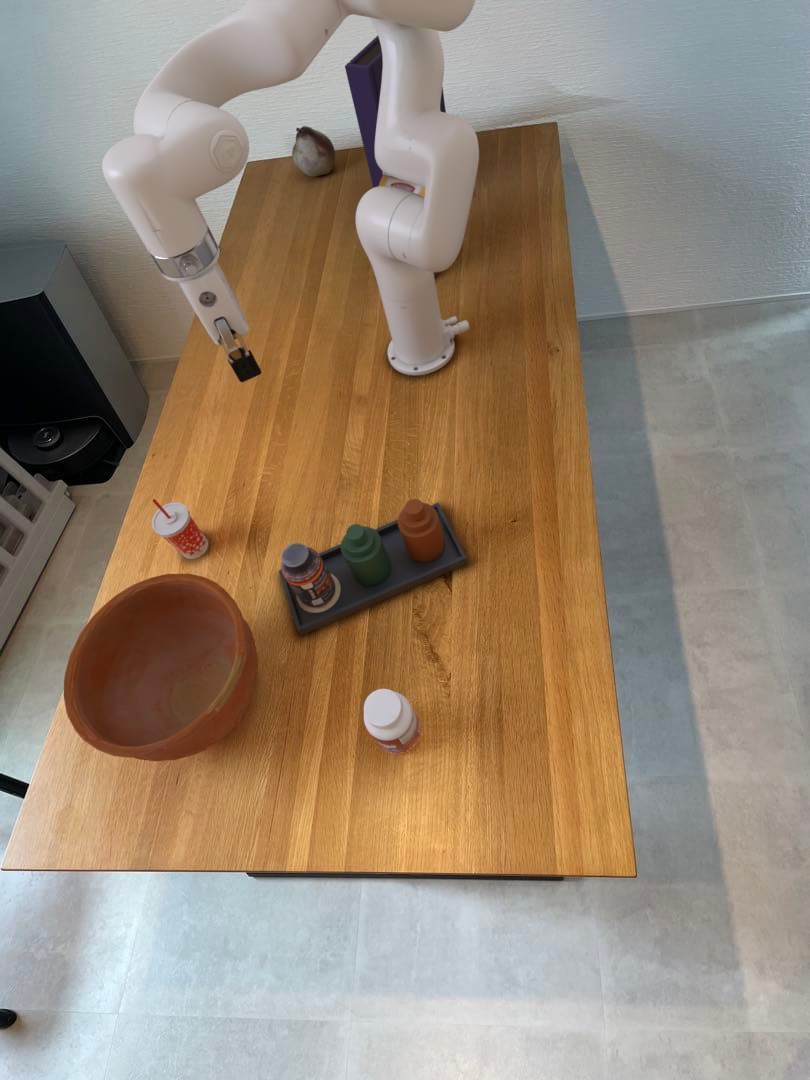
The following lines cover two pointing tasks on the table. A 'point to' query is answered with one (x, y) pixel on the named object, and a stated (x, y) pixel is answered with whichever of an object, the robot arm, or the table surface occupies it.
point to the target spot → (327, 605)
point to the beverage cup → (179, 529)
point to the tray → (400, 579)
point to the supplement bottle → (307, 575)
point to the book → (369, 99)
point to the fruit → (313, 152)
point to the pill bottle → (391, 721)
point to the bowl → (161, 670)
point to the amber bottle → (421, 531)
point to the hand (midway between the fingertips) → (242, 355)
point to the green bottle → (366, 555)
